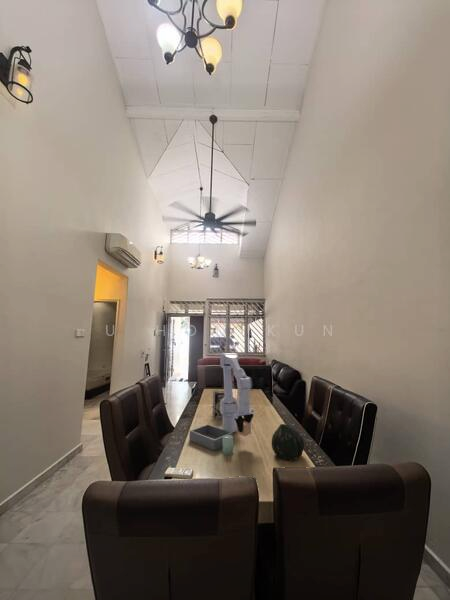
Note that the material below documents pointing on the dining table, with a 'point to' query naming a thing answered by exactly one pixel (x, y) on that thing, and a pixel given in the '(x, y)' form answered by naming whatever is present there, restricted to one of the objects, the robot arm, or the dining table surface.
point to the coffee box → (217, 403)
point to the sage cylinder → (227, 445)
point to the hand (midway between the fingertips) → (243, 430)
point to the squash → (287, 443)
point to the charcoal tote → (208, 436)
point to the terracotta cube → (245, 429)
